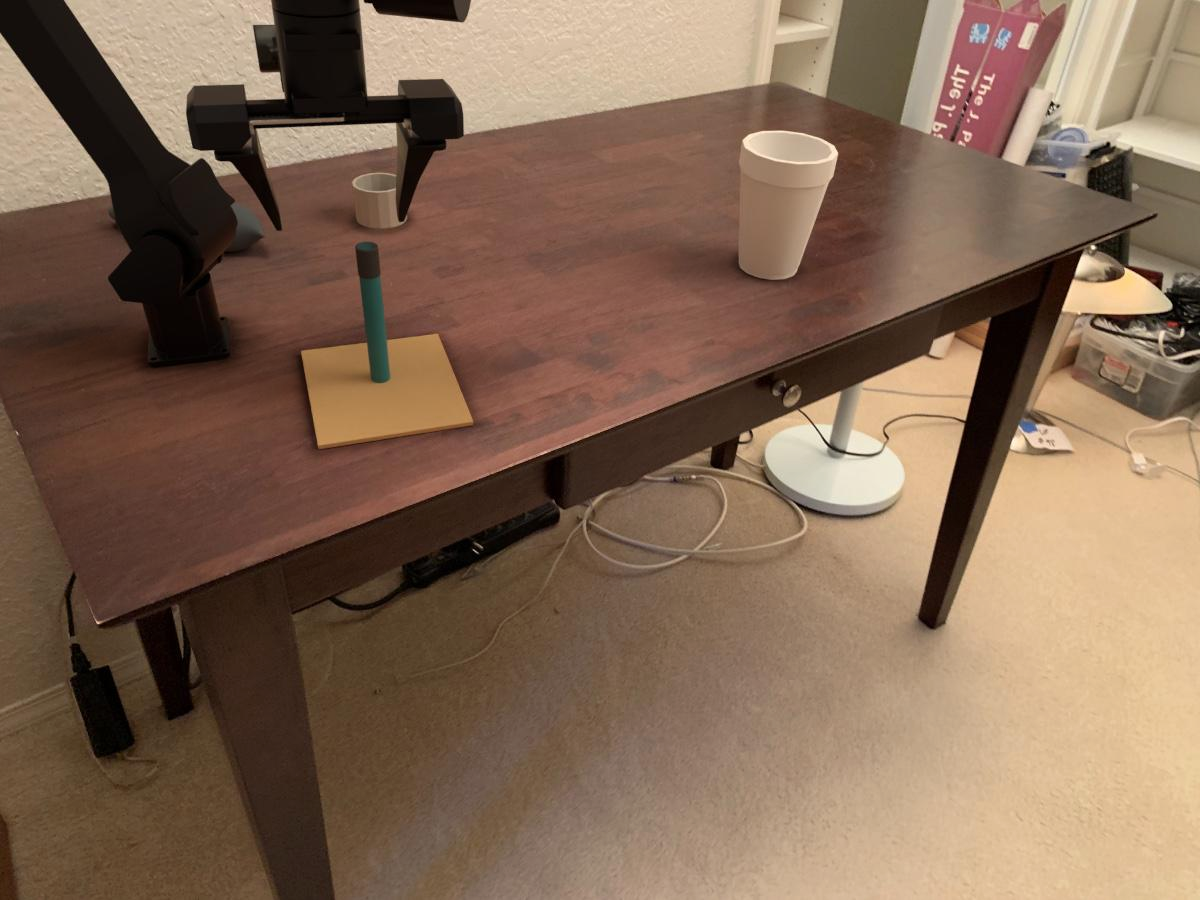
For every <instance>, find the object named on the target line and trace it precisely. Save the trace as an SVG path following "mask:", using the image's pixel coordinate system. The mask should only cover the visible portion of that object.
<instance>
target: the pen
mask: <svg viewBox="0 0 1200 900" xmlns="http://www.w3.org/2000/svg"><path fill="white" fill-rule="evenodd" d="M354 248H355V250H354V251H355V258H356V268H357V275H358V278H359V286H360V295H361V304H362V315H363V323H364V329H365V330H364V331H365V339H366V343H367V348H368V357H369V366H370V374H371V379H372V381H374V382H376V383H383V382H386V381H388V380H389V379H390V367H389V357H388V347H387V340H388V339H387V329H386V319H385V309H384V298H383V290H382V289H383V288H382V277H381V274H382V273H381V261H380V252H379V251H380V250H379V245H378V243H377V242H373V241H361V242H359V243H357V244H355V246H354Z"/></svg>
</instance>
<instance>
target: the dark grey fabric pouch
mask: <svg viewBox="0 0 1200 900" xmlns="http://www.w3.org/2000/svg"><path fill="white" fill-rule="evenodd" d="M231 207H232V209H233V211H234V213H235V215H236V218H237V222H238V226H237V229H236V236H235V239H234V240H233V242H232V243H231V245H230V246H229V247H228V248H227V249H226V250H225V251H224V253H238V252H240V251H244V250H246V249H248V248H249V247H251V246H253V245H254V244H256V243H257V242H259V241H260V240H262V239H264V238H266V235H265V231H264V227H263V225H262V223H261V221H260V219H259V218H258V217H257V216H256V215H255V214H254V213H253V212H252V211H251V210H250V209H248V208H247V206H244V205H242V204H241V203H239V202H236V201H235V202H234V203H233V204H232V205H231ZM107 213H108V216H109V217H110V218H111V219H112V220H113V221H115V217H114V211H113V206H111V207H110V208H109V209H108V211H107Z"/></svg>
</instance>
